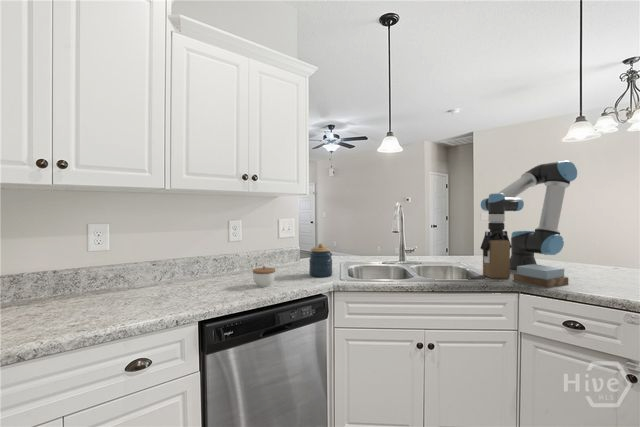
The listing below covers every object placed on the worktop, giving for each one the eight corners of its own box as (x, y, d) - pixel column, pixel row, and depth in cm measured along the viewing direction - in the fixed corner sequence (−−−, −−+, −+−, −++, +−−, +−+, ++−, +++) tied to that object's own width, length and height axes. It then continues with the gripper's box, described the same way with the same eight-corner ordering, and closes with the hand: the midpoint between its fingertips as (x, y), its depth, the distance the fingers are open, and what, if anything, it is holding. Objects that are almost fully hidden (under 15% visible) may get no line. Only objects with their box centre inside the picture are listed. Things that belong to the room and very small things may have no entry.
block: (500, 274, 169) (500, 238, 169) (510, 279, 159) (510, 240, 159) (482, 274, 170) (482, 238, 170) (490, 278, 160) (490, 240, 160)
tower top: (534, 271, 161) (534, 264, 161) (564, 276, 148) (564, 268, 148) (516, 274, 155) (516, 266, 155) (546, 279, 143) (546, 271, 143)
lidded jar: (264, 289, 141) (264, 269, 141) (248, 286, 147) (247, 266, 146) (279, 284, 150) (279, 265, 150) (263, 281, 156) (263, 263, 156)
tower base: (534, 278, 162) (534, 271, 162) (568, 285, 148) (568, 277, 148) (513, 281, 156) (513, 273, 156) (546, 288, 142) (546, 280, 142)
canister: (327, 272, 179) (327, 242, 179) (335, 276, 167) (335, 244, 167) (306, 273, 175) (306, 242, 175) (313, 278, 163) (312, 245, 163)
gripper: (506, 221, 172) (505, 259, 172) (473, 222, 163) (472, 262, 163) (519, 222, 165) (518, 261, 165) (485, 222, 156) (485, 264, 156)
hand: (496, 261), depth 164 cm, fingers open, 13 cm apart
